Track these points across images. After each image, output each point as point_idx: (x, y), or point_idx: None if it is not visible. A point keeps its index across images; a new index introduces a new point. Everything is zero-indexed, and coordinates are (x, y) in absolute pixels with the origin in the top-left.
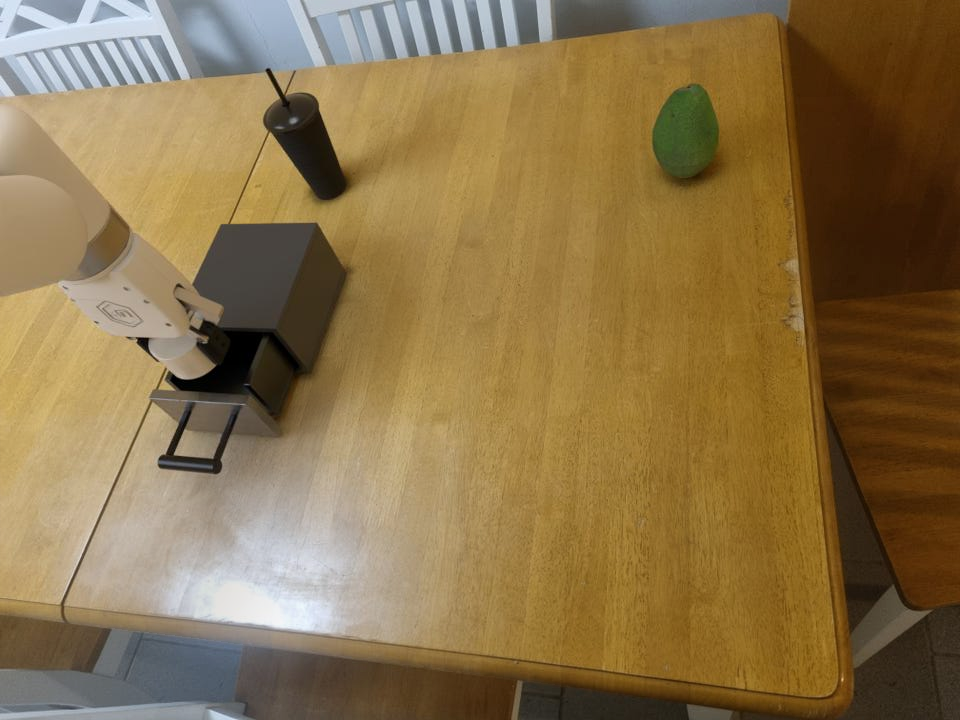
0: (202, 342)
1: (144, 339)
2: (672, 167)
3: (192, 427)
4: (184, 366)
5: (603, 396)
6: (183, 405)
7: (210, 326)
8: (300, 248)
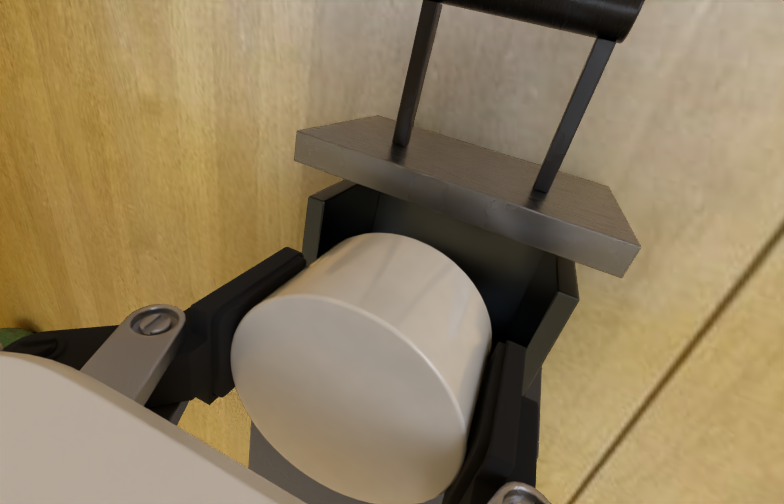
0: (178, 313)
1: (471, 460)
2: (3, 341)
3: (580, 181)
4: (342, 264)
5: (5, 96)
6: (520, 195)
7: (13, 348)
8: (259, 466)
